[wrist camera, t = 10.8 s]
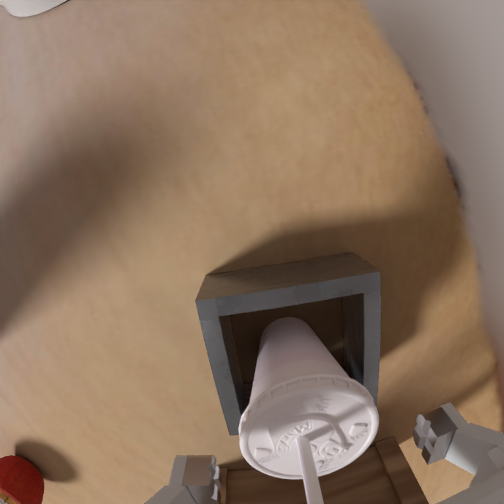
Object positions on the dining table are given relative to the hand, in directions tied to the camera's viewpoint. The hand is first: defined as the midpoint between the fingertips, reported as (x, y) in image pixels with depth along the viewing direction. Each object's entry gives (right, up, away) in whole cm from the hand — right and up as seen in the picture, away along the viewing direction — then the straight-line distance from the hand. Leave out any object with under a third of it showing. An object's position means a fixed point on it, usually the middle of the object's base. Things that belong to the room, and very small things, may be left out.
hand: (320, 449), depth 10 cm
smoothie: (0, +1, +11) cm, 11 cm away
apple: (-32, -20, +15) cm, 41 cm away
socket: (0, +2, +11) cm, 11 cm away
